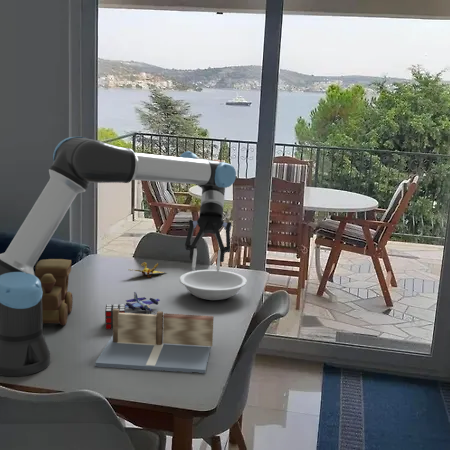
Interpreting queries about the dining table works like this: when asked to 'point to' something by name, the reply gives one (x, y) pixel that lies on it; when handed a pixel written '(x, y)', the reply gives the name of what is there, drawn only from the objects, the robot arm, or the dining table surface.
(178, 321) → the fence panel
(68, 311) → the wooden toy train
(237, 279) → the soup bowl
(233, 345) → the dining table surface
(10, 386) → the dining table surface
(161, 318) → the fence fixed section
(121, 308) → the puzzle toy
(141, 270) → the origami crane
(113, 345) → the board
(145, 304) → the toy airplane
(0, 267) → the robot arm
